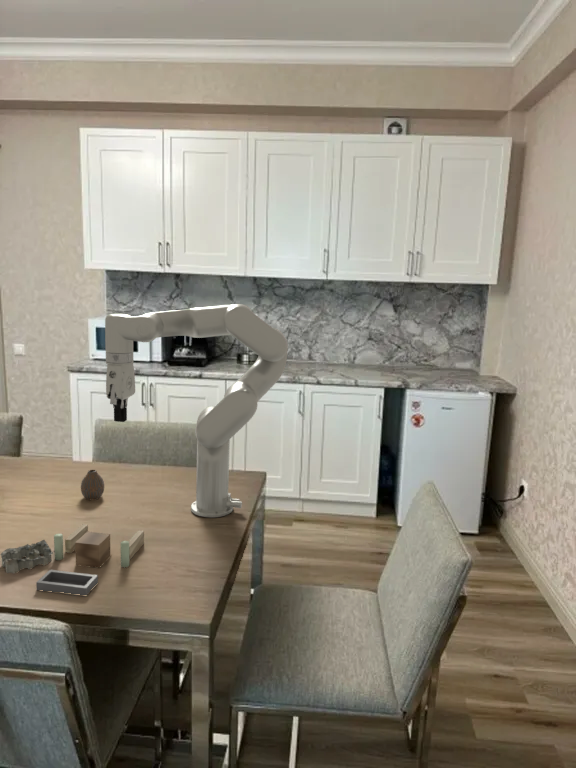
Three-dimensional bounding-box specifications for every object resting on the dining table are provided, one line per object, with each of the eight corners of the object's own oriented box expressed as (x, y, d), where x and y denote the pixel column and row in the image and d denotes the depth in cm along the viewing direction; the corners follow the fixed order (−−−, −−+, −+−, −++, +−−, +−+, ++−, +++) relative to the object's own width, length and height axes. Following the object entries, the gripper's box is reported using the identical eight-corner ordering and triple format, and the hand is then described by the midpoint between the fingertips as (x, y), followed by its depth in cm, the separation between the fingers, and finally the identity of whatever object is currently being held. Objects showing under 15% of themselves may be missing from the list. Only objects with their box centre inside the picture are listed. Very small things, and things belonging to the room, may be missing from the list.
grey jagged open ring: (6, 577, 132) (5, 560, 131) (-1, 563, 138) (-2, 547, 137) (54, 564, 139) (53, 549, 138) (46, 551, 144) (45, 536, 144)
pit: (98, 583, 131) (97, 575, 130) (86, 596, 125) (86, 588, 125) (50, 577, 132) (50, 569, 132) (36, 590, 127) (36, 582, 126)
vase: (89, 504, 174) (89, 476, 172) (76, 497, 178) (75, 470, 176) (109, 497, 179) (108, 470, 177) (95, 491, 183) (95, 465, 181)
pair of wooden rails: (144, 543, 151) (143, 530, 150) (130, 559, 142) (129, 546, 141) (82, 536, 153) (82, 524, 152) (65, 552, 144) (64, 539, 143)
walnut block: (110, 556, 143) (110, 534, 142) (99, 568, 137) (98, 545, 136) (87, 553, 144) (87, 531, 143) (75, 565, 138) (75, 542, 137)
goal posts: (130, 564, 140) (130, 541, 139) (127, 568, 138) (127, 545, 137) (57, 555, 142) (56, 533, 141) (53, 559, 140) (52, 536, 139)
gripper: (121, 362, 154) (122, 428, 158) (142, 355, 169) (142, 415, 173) (94, 361, 155) (96, 426, 159) (118, 353, 170) (119, 413, 173)
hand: (120, 420), depth 166 cm, fingers closed
